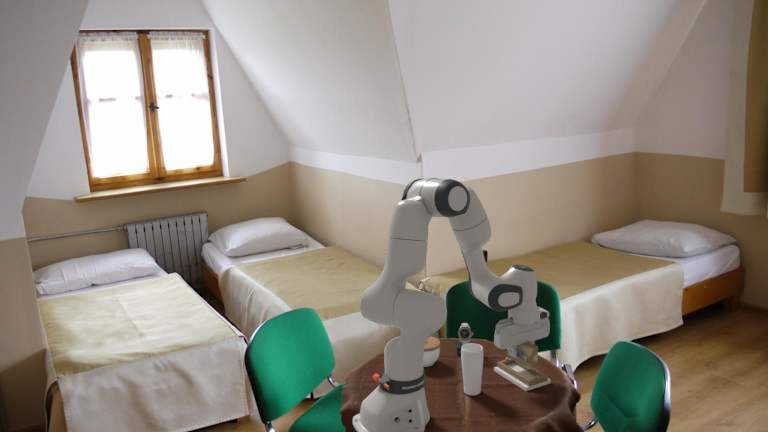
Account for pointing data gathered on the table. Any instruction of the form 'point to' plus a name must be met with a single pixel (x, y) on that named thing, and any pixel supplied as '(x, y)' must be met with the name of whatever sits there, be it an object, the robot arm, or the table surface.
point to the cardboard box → (526, 355)
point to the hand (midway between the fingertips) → (521, 354)
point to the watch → (463, 336)
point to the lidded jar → (431, 351)
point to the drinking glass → (472, 368)
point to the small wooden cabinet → (521, 374)
